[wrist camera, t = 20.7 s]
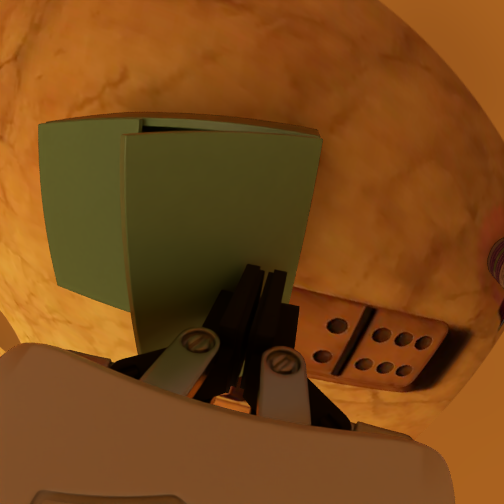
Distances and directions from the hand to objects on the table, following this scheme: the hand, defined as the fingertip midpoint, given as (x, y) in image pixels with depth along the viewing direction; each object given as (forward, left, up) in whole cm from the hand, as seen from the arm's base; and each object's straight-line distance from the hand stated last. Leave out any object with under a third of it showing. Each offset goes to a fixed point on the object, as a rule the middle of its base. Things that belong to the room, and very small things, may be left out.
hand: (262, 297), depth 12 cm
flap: (+1, -1, 0) cm, 2 cm away
